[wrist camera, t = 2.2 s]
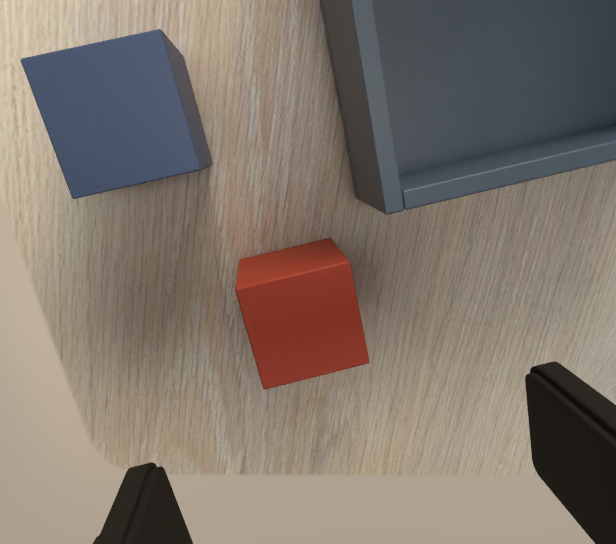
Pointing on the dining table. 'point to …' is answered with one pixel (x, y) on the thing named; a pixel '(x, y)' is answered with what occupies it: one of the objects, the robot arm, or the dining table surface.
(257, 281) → the red block
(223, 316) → the dining table surface
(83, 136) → the blue block
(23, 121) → the dining table surface
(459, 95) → the slate bin
